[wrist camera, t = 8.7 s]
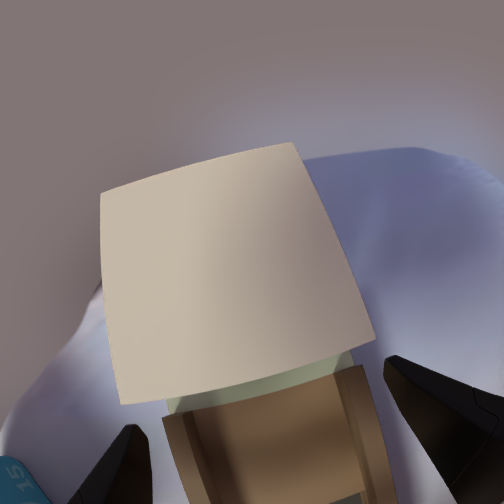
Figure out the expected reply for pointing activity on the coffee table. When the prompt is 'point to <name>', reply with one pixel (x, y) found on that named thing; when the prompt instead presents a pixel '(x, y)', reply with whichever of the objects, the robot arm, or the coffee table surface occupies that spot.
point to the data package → (18, 484)
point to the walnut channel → (283, 439)
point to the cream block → (223, 276)
